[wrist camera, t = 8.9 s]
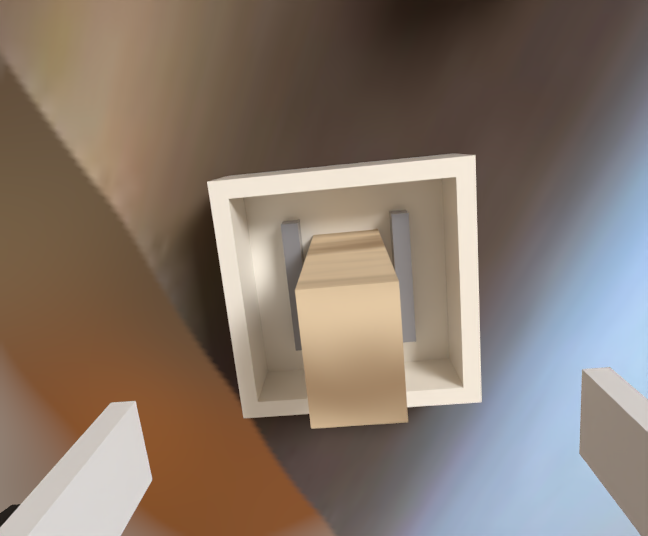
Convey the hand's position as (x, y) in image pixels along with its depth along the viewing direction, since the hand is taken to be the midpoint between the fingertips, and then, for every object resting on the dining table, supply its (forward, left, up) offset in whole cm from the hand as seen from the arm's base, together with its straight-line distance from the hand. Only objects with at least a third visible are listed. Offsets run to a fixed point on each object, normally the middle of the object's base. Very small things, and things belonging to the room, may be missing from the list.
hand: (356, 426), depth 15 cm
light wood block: (0, 0, -17) cm, 17 cm away
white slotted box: (0, 0, -18) cm, 18 cm away
